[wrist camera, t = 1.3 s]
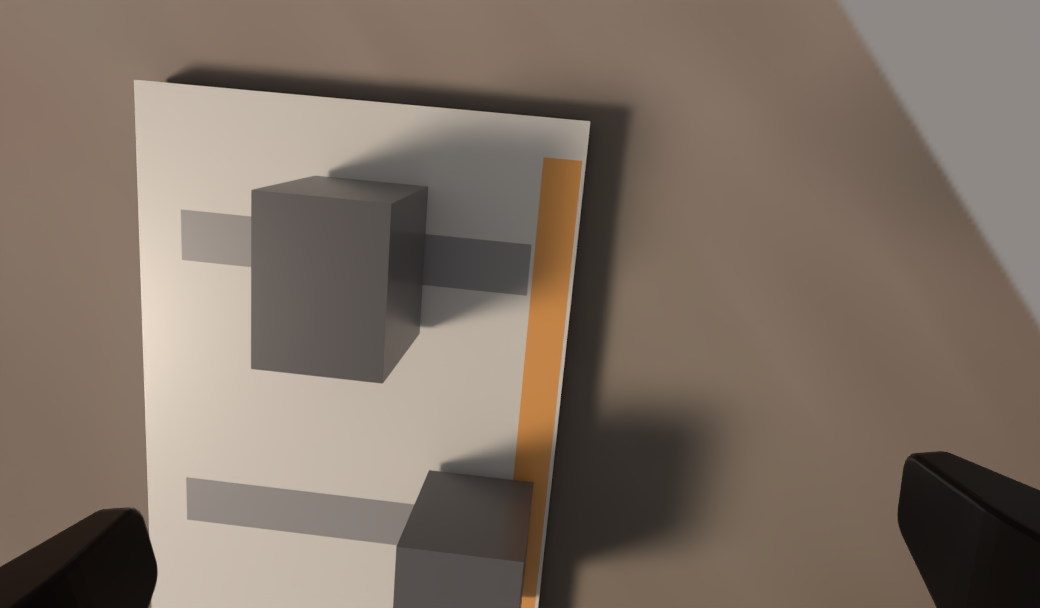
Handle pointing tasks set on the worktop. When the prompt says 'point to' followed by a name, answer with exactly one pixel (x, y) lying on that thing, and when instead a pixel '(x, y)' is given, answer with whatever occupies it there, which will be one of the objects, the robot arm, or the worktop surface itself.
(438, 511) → the slider on
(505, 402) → the switch plate
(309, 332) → the slider
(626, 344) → the worktop surface
